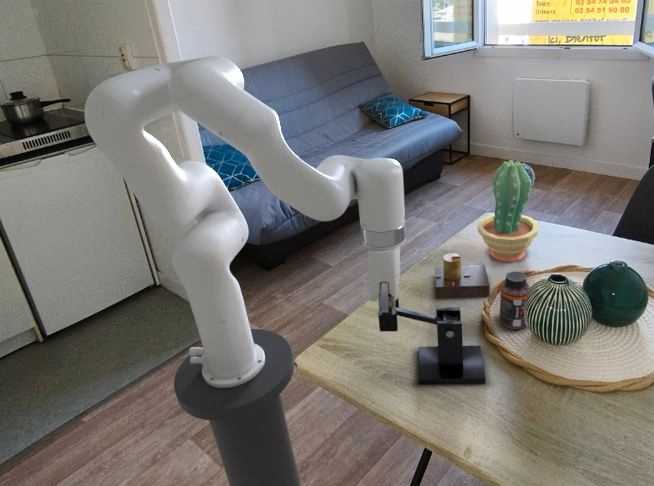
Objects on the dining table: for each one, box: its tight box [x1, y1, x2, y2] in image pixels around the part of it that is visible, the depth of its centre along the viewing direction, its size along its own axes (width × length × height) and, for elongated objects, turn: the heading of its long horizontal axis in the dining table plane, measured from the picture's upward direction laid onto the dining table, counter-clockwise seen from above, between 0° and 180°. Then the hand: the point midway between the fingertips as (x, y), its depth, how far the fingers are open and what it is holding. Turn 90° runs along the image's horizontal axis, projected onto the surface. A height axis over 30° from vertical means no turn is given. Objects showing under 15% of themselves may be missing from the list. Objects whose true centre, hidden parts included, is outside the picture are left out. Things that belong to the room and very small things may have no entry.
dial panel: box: [434, 264, 490, 299], centre depth 118 cm, size 12×9×3 cm
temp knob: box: [442, 252, 462, 280], centre depth 117 cm, size 4×4×5 cm
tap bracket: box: [418, 306, 487, 385], centre depth 93 cm, size 12×9×12 cm
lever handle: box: [389, 301, 458, 326], centre depth 91 cm, size 13×5×2 cm, turn 86°
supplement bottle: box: [499, 270, 532, 330], centre depth 103 cm, size 6×6×11 cm
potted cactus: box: [476, 159, 540, 263], centre depth 126 cm, size 15×15×25 cm
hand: (389, 319), depth 92 cm, fingers closed on lever handle, 5 cm apart
